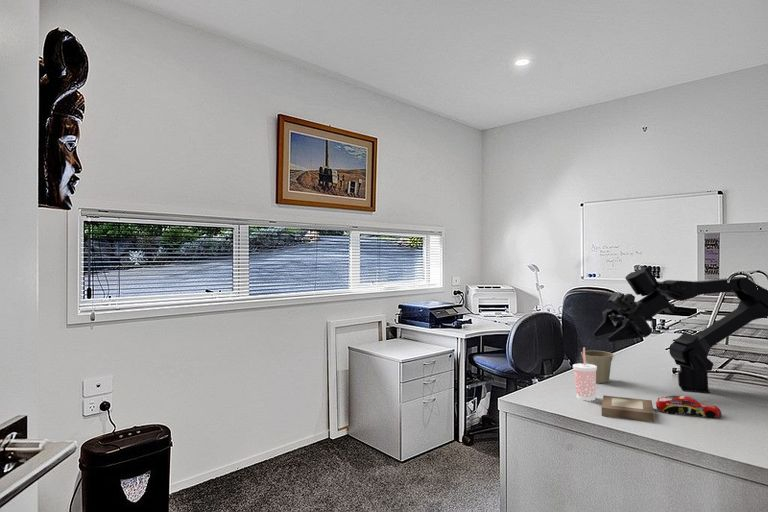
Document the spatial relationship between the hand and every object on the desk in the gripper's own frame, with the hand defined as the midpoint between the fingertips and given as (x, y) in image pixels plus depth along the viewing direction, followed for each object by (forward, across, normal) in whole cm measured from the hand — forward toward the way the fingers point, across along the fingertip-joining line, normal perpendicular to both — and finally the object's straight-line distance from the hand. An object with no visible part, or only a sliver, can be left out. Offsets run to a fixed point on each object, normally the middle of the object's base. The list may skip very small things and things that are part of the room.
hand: (601, 337), depth 129 cm
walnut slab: (+10, +18, +12) cm, 24 cm away
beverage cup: (+15, +6, +9) cm, 19 cm away
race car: (-1, +20, +20) cm, 28 cm away
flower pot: (+5, -11, +15) cm, 20 cm away
